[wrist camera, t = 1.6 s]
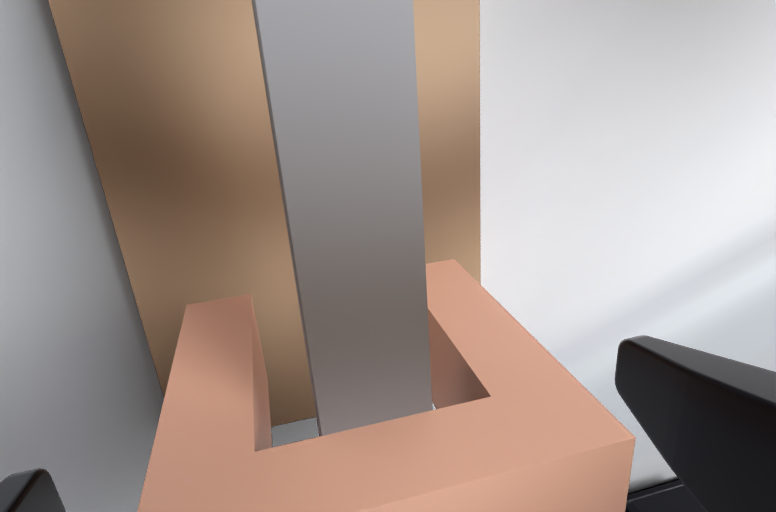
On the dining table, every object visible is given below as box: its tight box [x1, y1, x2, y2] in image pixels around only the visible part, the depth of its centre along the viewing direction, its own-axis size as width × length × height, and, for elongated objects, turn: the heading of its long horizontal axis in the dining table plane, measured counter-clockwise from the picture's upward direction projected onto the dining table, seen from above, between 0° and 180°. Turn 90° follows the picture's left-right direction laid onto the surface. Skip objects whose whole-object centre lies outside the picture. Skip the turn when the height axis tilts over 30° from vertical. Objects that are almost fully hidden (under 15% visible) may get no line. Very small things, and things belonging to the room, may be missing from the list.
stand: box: [48, 0, 481, 437], centre depth 9 cm, size 14×8×7 cm, turn 4°
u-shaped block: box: [137, 259, 636, 512], centre depth 8 cm, size 2×5×6 cm, turn 94°
